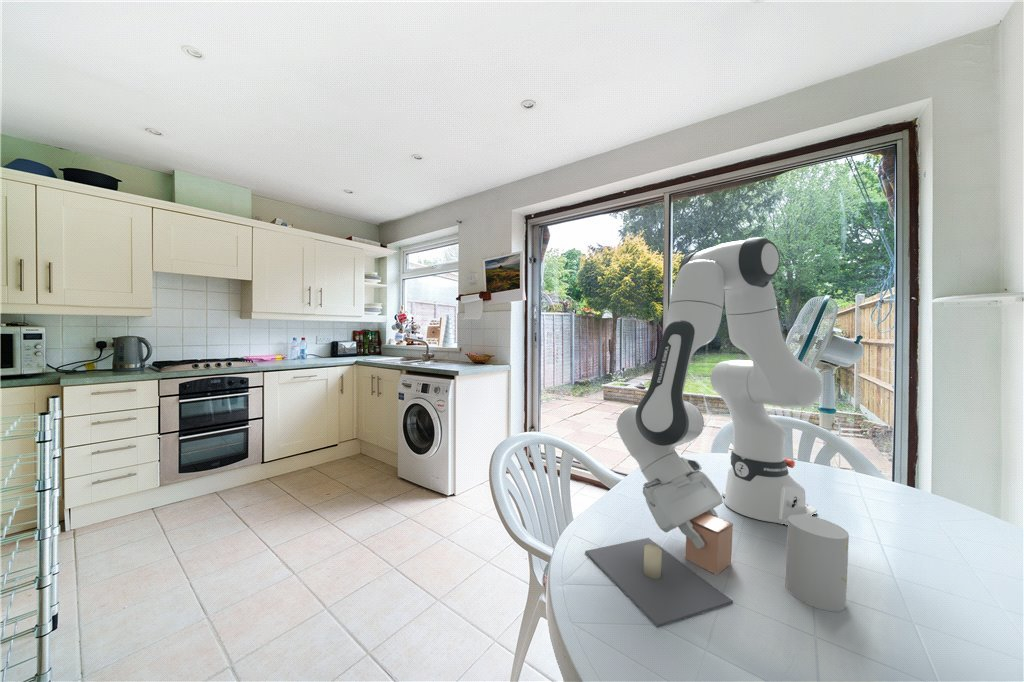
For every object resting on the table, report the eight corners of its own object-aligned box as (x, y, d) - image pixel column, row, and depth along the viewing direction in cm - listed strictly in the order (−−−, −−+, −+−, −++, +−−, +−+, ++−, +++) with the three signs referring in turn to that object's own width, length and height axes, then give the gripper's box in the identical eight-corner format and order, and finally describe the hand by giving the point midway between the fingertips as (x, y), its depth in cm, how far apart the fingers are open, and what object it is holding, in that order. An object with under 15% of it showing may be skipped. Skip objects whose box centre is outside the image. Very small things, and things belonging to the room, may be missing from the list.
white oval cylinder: (858, 615, 59) (861, 541, 59) (801, 606, 60) (804, 534, 60) (826, 582, 67) (828, 517, 67) (776, 575, 68) (778, 512, 68)
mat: (648, 539, 79) (649, 517, 79) (733, 603, 61) (734, 573, 61) (585, 552, 74) (586, 528, 74) (657, 627, 55) (658, 595, 55)
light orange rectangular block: (700, 549, 76) (701, 511, 76) (731, 563, 71) (732, 523, 71) (685, 558, 73) (686, 518, 73) (716, 574, 68) (718, 532, 68)
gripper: (649, 477, 72) (697, 551, 64) (701, 460, 84) (747, 520, 76) (629, 492, 75) (672, 563, 67) (682, 473, 87) (723, 532, 79)
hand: (712, 540), depth 72 cm, fingers closed on light orange rectangular block, 6 cm apart
